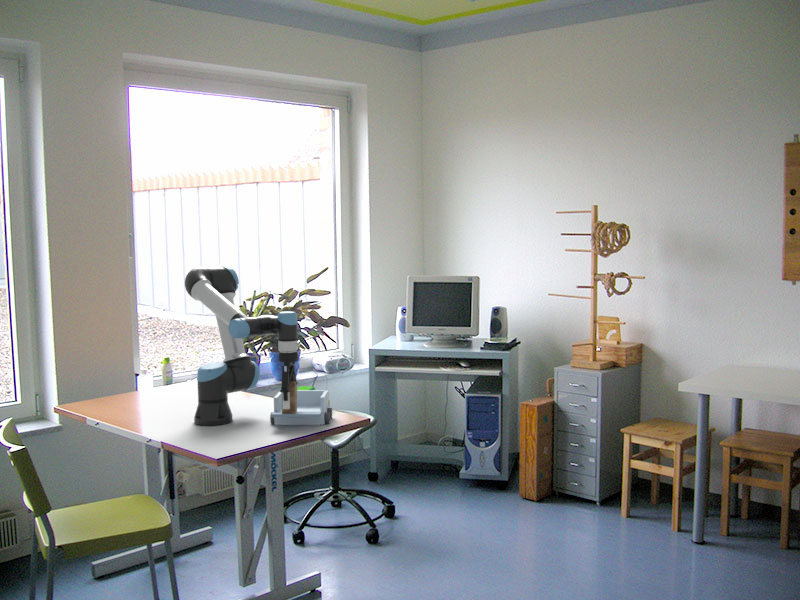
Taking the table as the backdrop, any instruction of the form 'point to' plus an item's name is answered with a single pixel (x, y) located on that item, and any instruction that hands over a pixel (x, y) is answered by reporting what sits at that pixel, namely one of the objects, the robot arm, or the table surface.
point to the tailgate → (298, 414)
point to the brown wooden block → (292, 399)
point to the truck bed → (305, 408)
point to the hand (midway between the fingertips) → (289, 405)
